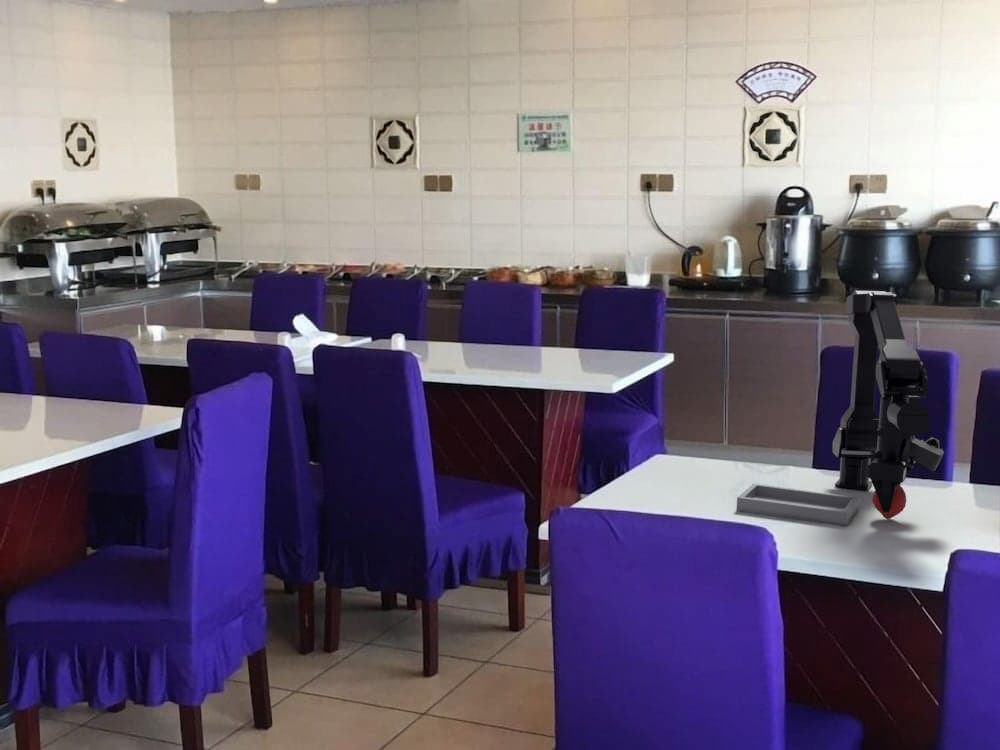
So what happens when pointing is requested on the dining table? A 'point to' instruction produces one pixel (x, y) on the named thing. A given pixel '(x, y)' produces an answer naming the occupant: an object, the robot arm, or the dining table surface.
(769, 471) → the dining table surface
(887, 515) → the onion
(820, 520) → the tray
